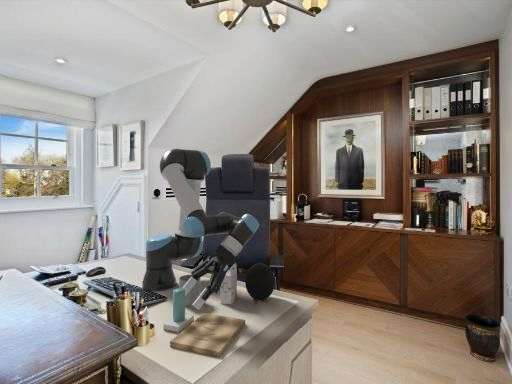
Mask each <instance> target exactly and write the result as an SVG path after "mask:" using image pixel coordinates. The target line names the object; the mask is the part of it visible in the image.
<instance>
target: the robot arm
mask: <svg viewBox="0 0 512 384" xmlns="http://www.w3.org/2000/svg"><path fill="white" fill-rule="evenodd" d="M159 171H160V174H161V176H162V178H163V180H166V181H167V183H168V185H169V187H170V189H171V191H172V193H173V194H174V197H175V199H176V201H177V204H178V206H179V208H180V210H179V223H178V228H177V229H176V230H175V233H174V236H173V235H172V234H170V233H165V234H155V235H154V236H151V237H149V238H148V239H147V240H146V243H145V244H146V246H145V260H146V262H145V265H146V266H145V267H146V269H145V272H144V275H143V280H142V283H141V284H142V285H141V286H142V289H143V288H144V289H143V290H145V289H147V290H146V291H149V290H150V292H151V291H152V292H159V291H164V290H165V291H166V290H169V289H172V288H174V287H175V286H176V285H177V279H176V276H175V273H174V270H173V262H174V261H175V262H176V261H181V260H187V259H192V258H195V257H198V256H199V255H200V254H201V253H202V251H203V246H204V242H203V238H202V237H208V236H217V235H223V234H227V235H226V236H225V237H224V238H223V239H222V241H221V242H220V244H219V245H218V246H217V247H216V248H215V249H214V251H213V255H214V256H211V255H208V257H207V258H206V259H205V260H204V261H202V262H201V263H200V264H199V265H198V266H196V268H194V269H192V271H191V273H190V275H191V274H192V275H191V276H192V277H191V278H190V279H189V280H188V282H187V283H186V284H185V285H184V286H183V289H185V296H186V295H187V294H188V292H189V291H190V290H191V289H192V287H193V286H194V285H195V284H196V282H197V281H198V280H199V278H200V279H201V278H202V277H204V276H205V275H207V274H209V273H211V275H210V278H209V282H208V285H206V286H205V288H204V289H203V290H202V291H201V292H200V295H199V297H198V298H197V299H196V300H195V302H194V303H193V304H192V305H193V306H192V307H195V309H197V310H199V311H200V309H201V308H202V306H203V305H204V304H205V303H206V302H207V300H208V299H209V297H210V296H211V295H212V294H214V293H216V294H217V293H219V292H220V287H221V284H222V282H223V280H224V277H225V275H226V273H227V272H228V270H229V269H230V267H229V266H230V265H231V264H232V263H233V261H234V260H235V259H236V257H237V256H238V255H239V253H241V251H242V249H243V248H244V247H245V246H246V244H247V243H248V242H249V241H250V239H251V238H252V237H253V236H254V234H256V232H257V231H258V229H259V227H260V223H259V221H258V219H256V218H255V217H254V216H253V215H252V214H249V213H245V214H243V215H242V216H241V217H239V216H236V215H233V214H231V213H229V212H225V211H221V212H218V213H217V214H214V215H207V213H206V211H205V210H204V208H203V206H202V205H201V202H200V197H201V196H200V194H201V185H202V182H204V181H205V178H206V177H205V176H208V175H209V173H210V172H211V159H210V157H209V154H207V153H206V152H205V151H201V150H197V149H185V148H184V149H181V148H172V149H169V150H168V151H166V152H165V153H164V154H163V155H162V156H161V159H160V161H159ZM196 280H197V281H196Z"/></svg>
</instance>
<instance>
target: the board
mask: <svg viewBox="0 0 512 384" xmlns="http://www.w3.org/2000/svg"><path fill="white" fill-rule="evenodd" d="M245 325H246V319H243V318H242V319H241V318H236V317H230V316H225V315H217V314H212V313H206V312H203V313H202V314H201V315H200V316H198V317H197V318H196V319H194V321H193V322H192V323H191V324H189V325H188V326H187V327H186V328H185V329H183V330H182V331H181V332H180V333H177V335H176V336H175V337H173V338H172V339H171V340H170V341H169V347H171V348H175V349H180V350H185V351H190V352H194V353H198V354H202V355H206V356H207V355H208V356H212V357H216V358H220V357H221V356H222V354H223V353H224V352H225V351H226V350H227V348H228V347H229V346H230V345H231V344H232V342H233V341H234V339H235V338H236V337H237V335H238V334H239V333H240V332H241V331H242V329H243V328H244V327H245Z"/></svg>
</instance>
